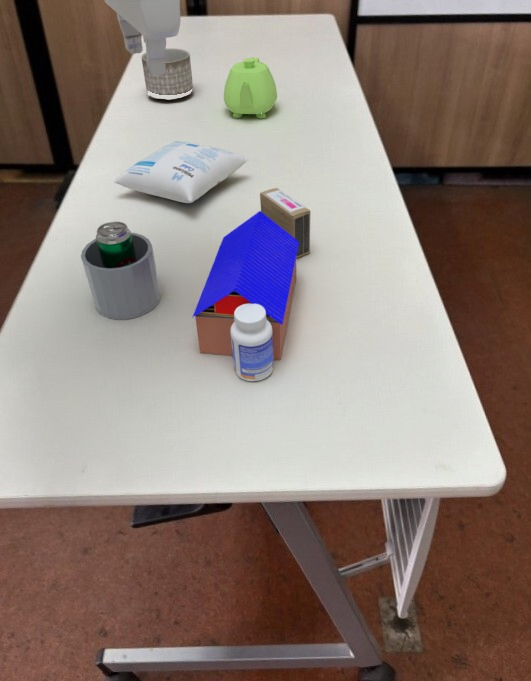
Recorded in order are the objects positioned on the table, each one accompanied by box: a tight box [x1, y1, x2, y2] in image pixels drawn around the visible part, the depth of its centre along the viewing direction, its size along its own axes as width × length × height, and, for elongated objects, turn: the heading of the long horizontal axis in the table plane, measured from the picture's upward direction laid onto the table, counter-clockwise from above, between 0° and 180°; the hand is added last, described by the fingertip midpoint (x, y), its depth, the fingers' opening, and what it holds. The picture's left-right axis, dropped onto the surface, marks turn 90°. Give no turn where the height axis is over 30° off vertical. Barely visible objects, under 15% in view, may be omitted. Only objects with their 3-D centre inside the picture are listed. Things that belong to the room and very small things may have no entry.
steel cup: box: [80, 232, 162, 321], centre depth 87 cm, size 10×10×9 cm
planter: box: [140, 48, 194, 95], centre depth 154 cm, size 13×13×10 cm
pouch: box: [112, 140, 250, 204], centre depth 114 cm, size 8×19×20 cm
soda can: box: [95, 220, 137, 269], centre depth 85 cm, size 5×5×12 cm
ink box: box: [259, 187, 311, 259], centre depth 98 cm, size 10×4×8 cm, turn 32°
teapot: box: [223, 57, 278, 119], centre depth 143 cm, size 20×13×13 cm
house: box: [191, 210, 299, 361], centre depth 82 cm, size 12×20×12 cm, turn 171°
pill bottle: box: [230, 303, 274, 382], centre depth 74 cm, size 5×5×10 cm
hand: (145, 62), depth 68 cm, fingers open, 8 cm apart
